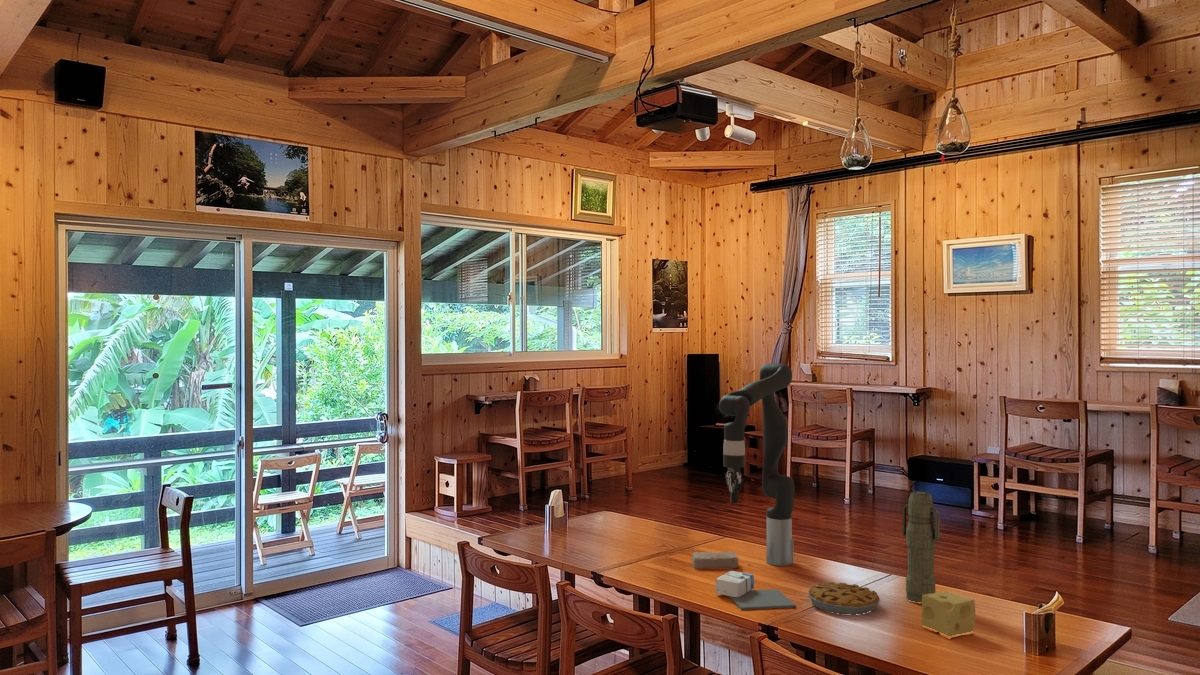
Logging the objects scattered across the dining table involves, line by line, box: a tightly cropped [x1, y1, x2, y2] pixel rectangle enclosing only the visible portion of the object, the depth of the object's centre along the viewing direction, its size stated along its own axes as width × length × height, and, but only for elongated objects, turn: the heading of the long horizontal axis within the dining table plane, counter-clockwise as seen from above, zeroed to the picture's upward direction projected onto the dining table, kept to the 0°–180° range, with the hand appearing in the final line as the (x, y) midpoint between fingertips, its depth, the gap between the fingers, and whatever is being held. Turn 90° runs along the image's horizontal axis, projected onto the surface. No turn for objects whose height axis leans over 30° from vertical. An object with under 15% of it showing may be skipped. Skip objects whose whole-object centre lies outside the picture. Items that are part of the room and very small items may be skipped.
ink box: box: [715, 570, 755, 598], centre depth 260 cm, size 9×5×12 cm
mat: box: [727, 588, 797, 611], centre depth 254 cm, size 18×16×1 cm
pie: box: [807, 582, 881, 616], centre depth 250 cm, size 22×22×5 cm
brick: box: [691, 551, 739, 570], centre depth 293 cm, size 17×8×5 cm, turn 90°
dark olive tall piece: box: [901, 490, 941, 602], centre depth 255 cm, size 9×12×35 cm
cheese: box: [921, 590, 976, 636], centre depth 228 cm, size 10×11×10 cm
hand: (733, 502), depth 274 cm, fingers closed
